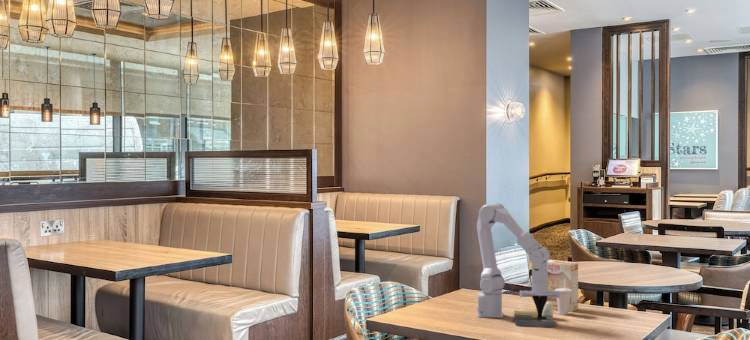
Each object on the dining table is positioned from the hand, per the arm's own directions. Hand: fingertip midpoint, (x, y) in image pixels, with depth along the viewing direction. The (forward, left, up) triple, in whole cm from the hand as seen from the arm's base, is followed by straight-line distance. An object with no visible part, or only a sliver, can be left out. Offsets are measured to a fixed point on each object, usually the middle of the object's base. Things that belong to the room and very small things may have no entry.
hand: (539, 316), depth 244 cm
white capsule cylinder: (+4, +9, -3) cm, 10 cm away
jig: (-2, 0, -3) cm, 3 cm away
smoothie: (+11, +17, -3) cm, 20 cm away
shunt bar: (-5, 0, -1) cm, 5 cm away
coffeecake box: (+10, +27, -3) cm, 29 cm away
